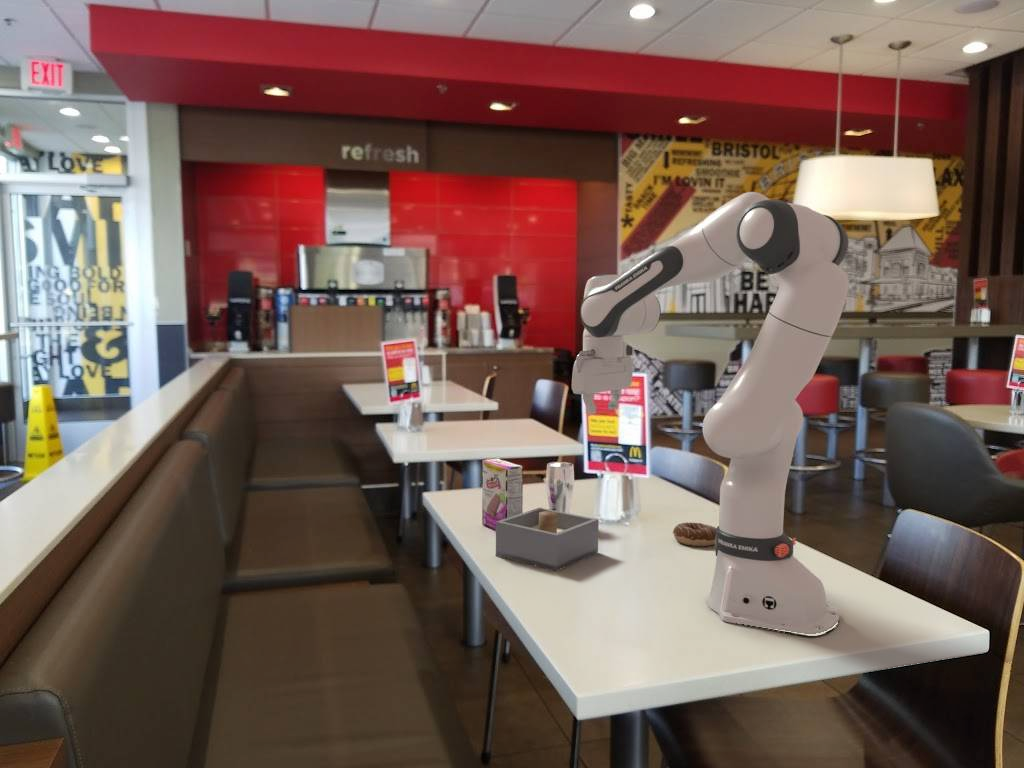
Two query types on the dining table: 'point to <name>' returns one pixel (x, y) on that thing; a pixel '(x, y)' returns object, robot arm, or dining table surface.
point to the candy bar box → (501, 491)
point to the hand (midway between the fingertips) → (602, 411)
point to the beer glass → (560, 486)
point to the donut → (695, 534)
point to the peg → (548, 521)
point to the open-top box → (547, 539)
